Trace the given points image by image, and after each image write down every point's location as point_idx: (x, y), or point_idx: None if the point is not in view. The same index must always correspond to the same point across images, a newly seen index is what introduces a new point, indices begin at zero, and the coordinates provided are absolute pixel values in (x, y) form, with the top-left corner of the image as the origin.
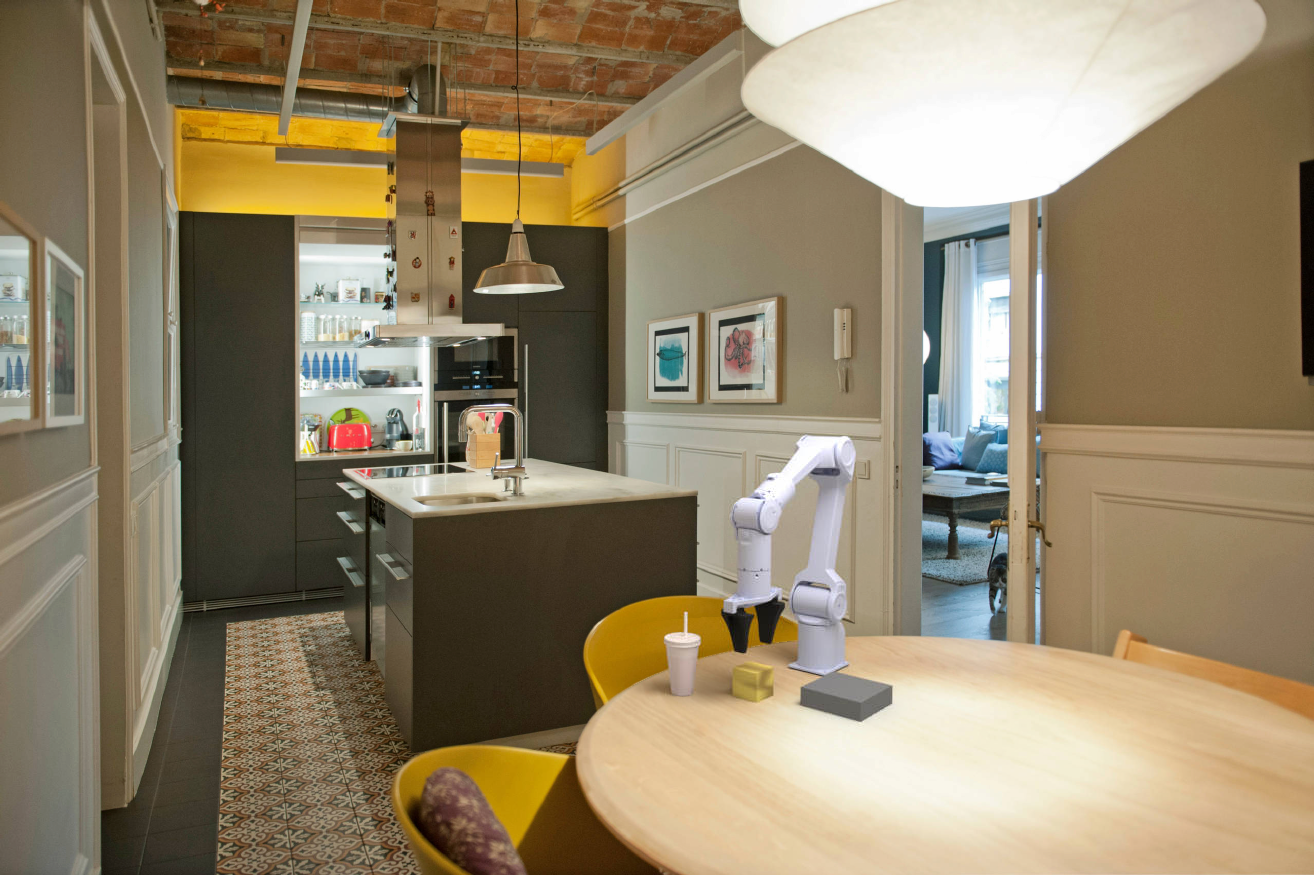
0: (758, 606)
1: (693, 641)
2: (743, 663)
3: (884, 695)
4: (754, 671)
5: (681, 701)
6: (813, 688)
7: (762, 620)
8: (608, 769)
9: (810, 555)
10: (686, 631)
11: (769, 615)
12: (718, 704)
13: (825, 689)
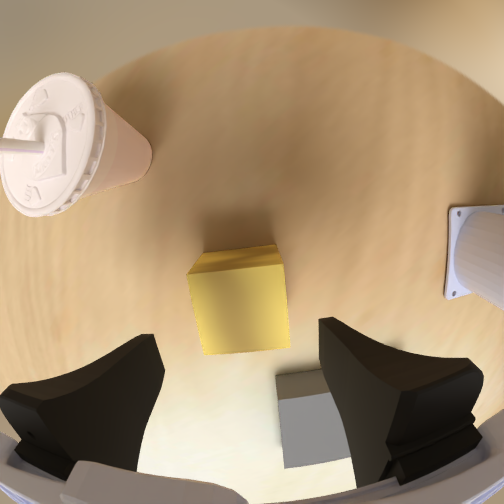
0: (384, 415)
1: (33, 215)
2: (247, 267)
3: None
4: (214, 339)
5: (95, 203)
6: (289, 415)
7: (352, 382)
8: None
9: None
10: (25, 153)
11: (357, 436)
12: (142, 269)
13: (301, 426)
